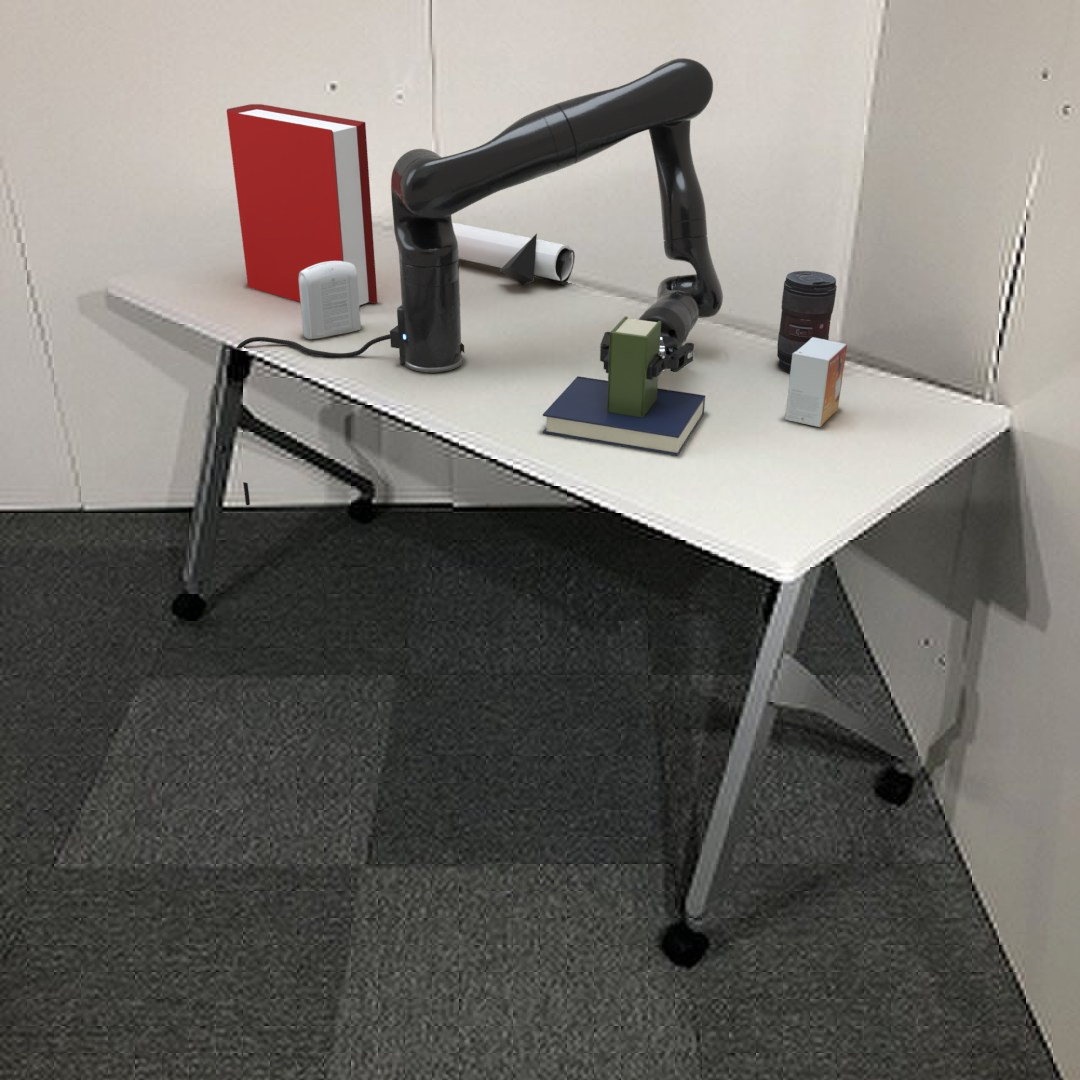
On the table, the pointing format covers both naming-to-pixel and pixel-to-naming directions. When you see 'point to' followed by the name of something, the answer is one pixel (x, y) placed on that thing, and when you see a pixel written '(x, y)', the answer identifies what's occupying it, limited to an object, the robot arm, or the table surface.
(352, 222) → the book
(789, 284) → the camera lens
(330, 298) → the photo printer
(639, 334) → the dictionary
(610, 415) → the block
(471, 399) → the table surface
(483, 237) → the diploma
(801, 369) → the small box
